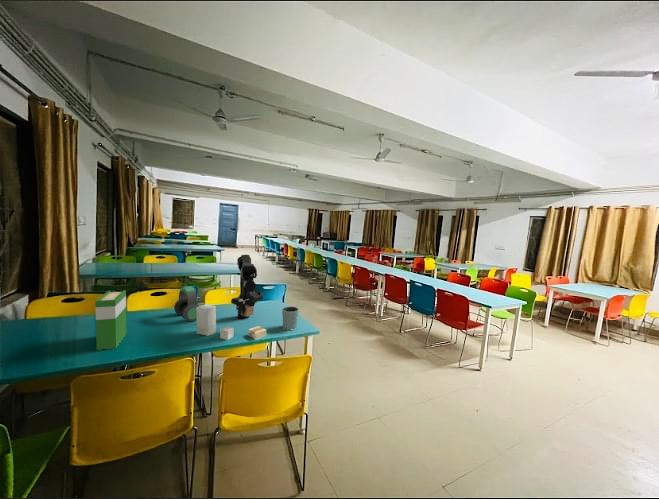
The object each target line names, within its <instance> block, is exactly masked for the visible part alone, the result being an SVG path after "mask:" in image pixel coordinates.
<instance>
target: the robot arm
mask: <svg viewBox="0 0 659 499" xmlns="http://www.w3.org/2000/svg"><path fill="white" fill-rule="evenodd" d="M250 256H251V255H250V254H241V255H240V256H238V257H237V261H236V266H237V268H238V270H239V272H240V274H239V275H240V276H239V277H240V278H239V279H240V284H239V286H240V287H239V294H238V296H237V297H233V298H231V300H230V304H233V305H235V310H236V311H237V315H236V316H235V318H236V319H239V320H242V321H243V320H246V319H249V318H250V316H248V317H246V316H243V315H241V312H242V314H244V313H245V305H251V306H255V304H256V303H257V302H259V301H260V300H263V299H264V296H263V292H262V291H256V290H255V289H256V287H257V284H256V282H255V280H254V279H256V278H257V277H258V270H257V268H256V266H255V264H253V263H252V258H251V257H250Z"/></svg>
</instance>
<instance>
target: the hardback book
mask: <svg viewBox="0 0 659 499" xmlns="http://www.w3.org/2000/svg"><path fill="white" fill-rule="evenodd" d="M126 292H127V290H126V289H125V290H122V291H115V292H113V291H112V292H111V290H108V291H106V292H105V293H104V294H102V295H101V296H100V297H99V298H97V299H96V300H95V301H94V302H95V304H94V305H95V340H96V341H95V343H96V351H97V350H98V351H103V350H102V349H107V350H115V349H114V348H116V349H117V348H118V347H119V345H120V344H121V342H122V341H123V339H124V338H123V337H125V336H126V335H127V334H126V333H127V293H126ZM121 340H122V341H121ZM119 343H120V344H119ZM117 346H118V347H117Z"/></svg>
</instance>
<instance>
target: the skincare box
mask: <svg viewBox="0 0 659 499" xmlns="http://www.w3.org/2000/svg"><path fill="white" fill-rule="evenodd" d="M216 308H217V307H216V305H211V304H202V305H199V307H196V311H197V319H196V334H197V335H202V336H207V337H209V336H211V335H213V334H216V333H217V316H216V314H217V311H216Z"/></svg>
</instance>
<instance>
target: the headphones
mask: <svg viewBox="0 0 659 499" xmlns="http://www.w3.org/2000/svg"><path fill="white" fill-rule="evenodd" d="M197 298H198V296H197V293H196V290H195V288H194V286H183V287H181V288H180V289H179V293H178V300H176V302H175V303H174V304H173V305H174V306H173V309H174V312H175V313H176V314H177V315H179V316H181V317H182V318H183V319H184V320H185V321H188V322H194V321H197V311H196V307H199V306H200V305H199V304H198V299H197Z"/></svg>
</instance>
